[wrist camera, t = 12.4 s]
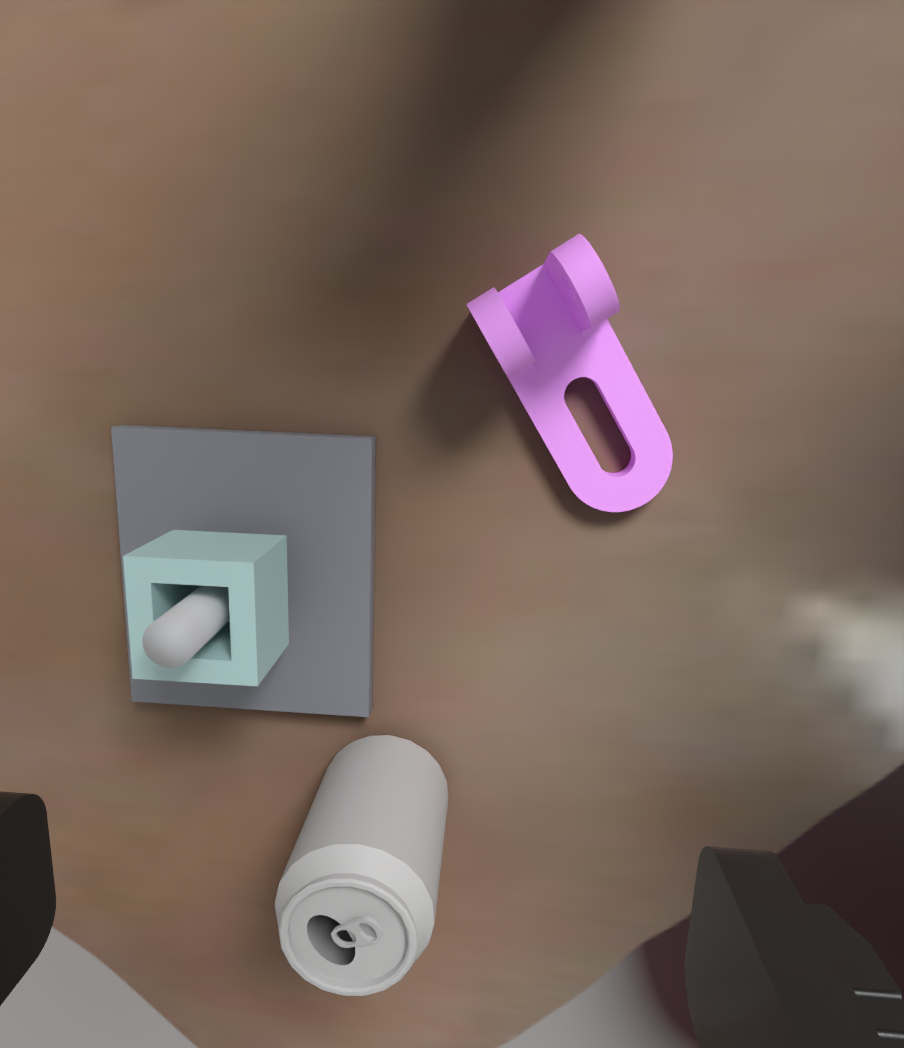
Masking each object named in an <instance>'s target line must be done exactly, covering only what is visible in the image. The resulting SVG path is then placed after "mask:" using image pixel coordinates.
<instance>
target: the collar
mask: <svg viewBox="0 0 904 1048" xmlns="http://www.w3.org/2000/svg"><path fill="white" fill-rule="evenodd" d="M123 563H124V576H125V589H126V602H127V615H128V627H129V640H130V653H131V666H132V679H146V680H162V681H178V682H195V683H211V684H227V685H243V686H258V685H259V684H260V683H261V681H262V680H263V679H264V677H265V676H266V674H267V673H268V672H269V670H270V669H271V668H272V666H273V665H274V664H275V662H276V661H277V660H278V658H279V657H280V655H281V654H282V653H283V651H284V650H285V649H286V647H287V646H288V645H289V623H288V576H287V535H268V534H248V533H227V532H207V531H187V530H172V531H170V532H168V533H166V534H164V535H162V536H160V537H158V538H157V539H155V540H153V541H151V542H149V543H147V544H145V545H143V546H141V547H139V548H137V549H135V550H134V551H132V552H130V553H128V554H126V555H124V556H123ZM199 585H201V586H219V587H228V589H229V613H230V620H229V621H228V622H227V623H226V624H225V625H224V626H223V627H222V628H221V629H220V630H219V631H218V632H217V633H216V634H215V635H214V636H213V637H212V638H211V639H210V640H209V641H208V642H207V643H206V644H205V645H204V646H203V647H202V648H201V649H200V650H199V651H198V652H197V653H196V654H195V655H193V656H192V657H191V658H190V659H189V660H188V661H187V662H186V663H185V664H184V665H182V666H180V667H177V668H165V667H161V666H159V665H157V664H155V663H154V662H153V661H151V660H150V659H149V658H148V656H147V655H146V653H145V651H144V648H143V644H142V638H143V634H144V631H145V630H146V628H147V627H148V626H149V625H150V624H151V623H153V622H154V621H155V620H157V619H158V618H159V617H161V616H162V615H163V614H165V613H166V612H167V611H168V610H170V609H171V608H172V607H174V606H175V605H176V604H178V603H179V602H180V601H182V600H183V599H184V598H186V597H187V596H188V595H189V594H191V593H192V592H193V591H195V590H196V589H197V588H199Z"/></svg>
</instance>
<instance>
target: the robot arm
mask: <svg viewBox="0 0 904 1048" xmlns="http://www.w3.org/2000/svg"><path fill="white" fill-rule="evenodd" d="M55 910H56V893H55V884H54V875H53V866H52V857H51V848H50V839H49V830H48V821H47V812H46V807H45V804H44V802H43V800H42V799H41V798H40V797H39V796H38V795H35V794H26V793H13V792H0V1006H1V1004H2V1003H3V1002H4V1000H5V999H6V998H7V996H8V995H9V994H10V992H11V991H12V990H13V989H14V987H15V986H16V984H17V983H18V982H19V981H20V980H21V978H22V977H23V976H24V974H25V973H26V972H27V970H28V969H29V968H30V967H31V965H32V964H33V963H34V961H35V960H36V958H37V957H38V955H39V954H40V952H41V950H42V949H43V947H44V945H45V943H46V941H47V938H48V936H49V933H50V930H51V927H52V924H53V920H54V916H55ZM685 982H686V992H687V1000H688V1006H689V1011H690V1015H691V1019H692V1023H693V1026H694V1030H695V1033H696V1036H697V1040H698V1043H699V1047H700V1048H904V1001H903V1000H902V996H901V991H900V989H899V987H898V986H897V984H896V983H895V982H894V980H893V978H892V977H891V975H890V973H889V972H888V970H887V969H886V967H885V966H884V964H883V963H882V961H881V959H880V958H879V956H878V955H877V953H876V952H875V950H874V948H873V947H872V945H871V944H870V943H869V942H868V941H866V940H865V939H864V938H863V937H862V936H861V935H860V934H859V933H858V932H857V931H856V930H854V929H853V928H852V927H851V926H850V925H849V924H848V923H847V922H846V921H844V920H843V919H842V918H841V917H840V916H839V915H838V914H837V913H836V912H835V911H834V910H832V909H831V908H830V907H829V906H828V905H823V904H810V903H804V902H803V900H802V898H801V896H800V895H799V893H798V891H797V890H796V888H795V886H794V884H793V882H792V881H791V879H790V877H789V875H788V873H787V872H786V870H785V868H784V866H783V865H782V863H781V861H780V860H779V858H778V857H777V856H776V855H775V854H774V853H773V852H770V851H759V850H746V849H732V848H719V847H704V848H703V850H702V852H701V854H700V857H699V862H698V868H697V875H696V882H695V889H694V896H693V904H692V911H691V918H690V925H689V932H688V939H687V946H686V955H685Z"/></svg>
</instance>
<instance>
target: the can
mask: <svg viewBox="0 0 904 1048" xmlns="http://www.w3.org/2000/svg"><path fill="white" fill-rule="evenodd" d="M447 806H448V789H447V781H446V778H445V776H444V774H443V772H442V769H441V767H440V765H439V764H438V763H437V762H436V760H435V759H434V758H433V757H432V756H431V755H430V754H429V753H428V752H427V751H426V750H425V749H423V748H421V747H420V746H418V745H416V744H415V743H413V742H411V741H410V740H406V739H402V738H399V737H395V736H391V735H382V736H368V737H365V738H362V739H359V740H356V741H353V742H351V743H350V744H349V745H347V746H346V747H345V748H343V749H342V750H341V751H339V752H338V753H337V754H336V756H335V757H334V759H333V760H332V762H331V763H330V765H329V766H328V768H327V770H326V772H325V775H324V777H323V780H322V782H321V784H320V787H319V789H318V792H317V794H316V796H315V799H314V801H313V804H312V806H311V808H310V811H309V813H308V816H307V818H306V820H305V823H304V825H303V828H302V830H301V832H300V835H299V837H298V840H297V842H296V844H295V847H294V849H293V852H292V854H291V856H290V859H289V861H288V864H287V866H286V868H285V871H284V873H283V875H282V878H281V880H280V883H279V887H278V891H277V896H276V900H275V909H276V916H277V923H278V926H279V937H280V944H281V949H282V951H283V953H284V954H285V956H286V958H287V960H288V962H289V964H290V966H291V967H292V968H293V969H294V970H295V971H296V972H297V973H298V974H299V975H300V976H301V977H302V978H303V979H304V980H306V981H308V982H310V983H311V984H313V985H315V986H317V987H318V988H320V989H322V990H324V991H328V992H332V993H336V994H339V995H343V996H366V995H369V994H373V993H376V992H380V991H383V990H386V989H387V988H389V987H390V986H392V985H394V984H395V983H397V982H398V981H400V980H401V979H402V978H403V977H404V975H405V974H406V973H407V971H408V970H409V969H410V967H411V966H412V965H413V962H415V961H416V960H417V958H418V957H419V956H420V954H421V953H422V952H423V950H424V949H425V948H426V946H427V945H428V944H429V940H430V937H431V933H432V930H433V927H434V922H435V913H436V905H437V896H438V887H439V878H440V869H441V860H442V851H443V842H444V833H445V824H446V815H447Z"/></svg>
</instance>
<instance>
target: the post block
mask: <svg viewBox="0 0 904 1048" xmlns="http://www.w3.org/2000/svg"><path fill="white" fill-rule="evenodd" d="M111 433H112V446H113V459H114V473H115V486H116V499H117V513H118V526H119V539H120V553H121V566H122V579H123V593H124V606H125V619H126V633H127V646H128V659H129V672H130V686H131V699H132V702H146V703H161V704H177V705H192V706H207V707H222V708H237V709H252V710H267V711H282V712H297V713H312V714H327V715H342V716H358V717H369V715H370V713H371V710H372V707H373V626H374V546H375V465H376V436H363V435H341V434H318V433H296V432H274V431H251V430H229V429H207V428H184V427H162V426H140V425H118V426H113V427H111ZM172 530H187V531H207V532H227V533H248V534H268V535H287V576H288V623H289V645H288V646H287V647H286V649H285V650H284V651H283V653H282V654H281V655H280V657H279V658H278V660H277V661H276V662H275V664H274V665H273V666H272V668H271V669H270V670H269V672H268V673H267V674H266V676H265V677H264V679H263V680H262V681H261V683H260V684H259V685H258V686H243V685H227V684H211V683H195V682H178V681H162V680H146V679H132V666H131V653H130V640H129V627H128V615H127V602H126V589H125V576H124V563H123V556H124V555H126V554H128V553H130V552H132V551H134V550H135V549H137V548H139V547H141V546H143V545H145V544H147V543H149V542H151V541H153V540H155V539H157V538H158V537H160V536H162V535H164V534H166V533H168V532H170V531H172ZM229 620H230V613H229V589H228V587H219V586H201V585H199V588H197V589H196V590H195V591H193V592H192V593H191V594H189V595H188V596H187V597H186V598H184V599H183V600H182V601H180V602H179V603H178V604H176V605H175V606H174V607H172V608H171V609H170V610H168V611H167V612H166V613H165V614H163V615H162V616H161V617H159V618H158V619H157V620H155V621H154V622H153V623H151V624H150V625H149V626H148V627H147V628H146V630H145V631H144V634H143V638H142V644H143V648H144V651H145V653H146V655H147V656H148V658H149V659H150V660H151V661H153V662H154V663H155V664H157V665H159V666H161V667H165V668H177V667H180V666H182V665H184V664H185V663H186V662H187V661H188V660H189V659H190V658H191V657H192V656H193V655H195V654H196V653H197V652H198V651H199V650H200V649H201V648H202V647H203V646H204V645H205V644H206V643H207V642H208V641H209V640H210V639H211V638H212V637H213V636H214V635H215V634H216V633H217V632H218V631H219V630H220V629H221V628H222V627H223V626H224V625H225V624H226V623H227V622H228V621H229Z"/></svg>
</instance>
